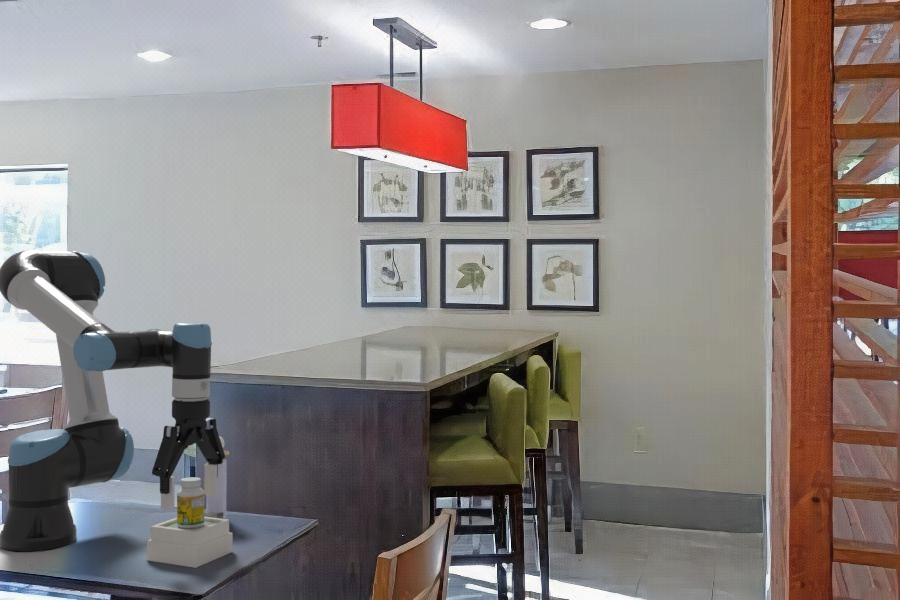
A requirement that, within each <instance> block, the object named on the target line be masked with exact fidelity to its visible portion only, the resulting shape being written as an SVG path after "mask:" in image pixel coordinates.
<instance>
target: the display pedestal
mask: <svg viewBox="0 0 900 600" xmlns="http://www.w3.org/2000/svg"><path fill="white" fill-rule="evenodd" d="M233 533H234V532H230V519H226V518H223V519H220V518H212V517H204V525H203V526H201V527H199V528H192V529H184V528H179V527H178V526H177V517H174V518H171V519H168V520H165V521H162V522H159V523H156V524H154V525H151V526H150V539H147V540H146V561H149V562H153V563H161V564H168V565H175V566H180V567H181V566H182V567H188V568H194V569H196V568H198V567H201V566H203V565H206V564H208V563H210V562H213V561H215V560H217V559H219V558H220V559H221V557H224V556H227V555H229V554H230V553H231V554H232V553H233V540H234V539H233Z"/></svg>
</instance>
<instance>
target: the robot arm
mask: <svg viewBox="0 0 900 600" xmlns="http://www.w3.org/2000/svg"><path fill="white" fill-rule="evenodd" d="M105 286H106V276H105V273H104V269H103V267H102V264H101V263H100V262H99V260H98V259H97V258H95V257H94V256H93V255H91V254H89V253H87V252H78V251H75V250H69V251H60V250H59V251H56V250H54V251H52V250H33V249H32V250H31V249H29V250H23V251H19V252H16V253H15V254H13V255H11V256H9V257H8V258H7V259H6V260H5V261H4V262H3V263H2V265H1V266H0V293H1V296H2V297H3V298H4V299H5V300H6V301H7V302H8V303H9V304H11V305H12V306H13V308H14V307H15V308H16V309H19V310H24V311H25V310H26V311H27V312H28V313H29V314H30V315H32V316H33V317H35V318H36V319H37V320H38V321H40V323H42V324H43V326H46V328H48V329H49V330H50V331H52V333H54V334H55V336H56V337H55V338H56V342H57V350H58V355H59V362H60V367H61V373H62V379H63V385H64V392H65V399H66V405H67V411H68V418H69V421H68V422H67V424H66V425H65V426H64V428H49V429H45V430H43V429H42V430H35V431H31V432H27V433H24V434H21V435H18V436H17V437H15V438H14V439H13V440H12V441H11V442H10V444H9V449H8V459H7V463H8V510H7V514H6V516H5V520H4V524H3V528H2V530H1V531H0V548H1V549H3V550H7V551H14V552H34V551H36V552H37V551H45V550H51V549H52V550H53V549H57V548H61V547H64V546H67V545H70V544H72V543H73V542H76V540H77V534H78V533H77V532H78V531H77V526H76V524H74V523H75V522H74V519H73V516H72V512H71V509H70V506H69V489H70V488H76V487H81V486H87V485H93V484H98V483H107V482H109V481H111V480H116V479H119V478H122V477H123V476H125V474H126V473H127V472H128V471H129V470H130V467H131V465H132V463H133V459H134V455H135V454H134V453H135V445H134V439H133V436H132V434H131V433H130V431H129V430H128V429H126V428H125V427H122V426H120V425H119V423H120V422H119V419H118V417H116V416H115V415H113V414H112V413H111V412H110V407H109V402H108V396H107V395H108V394H107V388H106V382H105V378H104V372H105V371H114V370H123V369H136V368H137V369H138V368H139V369H140V368H151V367H166V368H167V367H168V368H172V372H171V373H172V374H171V377H172V378H171V382H172V383H171V397H172V398H174V399H173V400H172V401H171V417H172V419H174V420H175V423H174V426H173V425H164V427H163V435H162V436H163V437H162V439H161V443H160V446H159V449H158V453H157V455H156V458H155V461H154V464H153V467H152V471H151V474H152V476H155V477H159V492H160V509H161V510H165V511H166V510H167V511H174V510H175V492H176V491H175V489H176V488H175V483H176V481H175V478H176V477H175V476H173V473H174V472H175V469H176V468H177V466H178V464H179V462H180V460H181V458H182V455H183V453H184V451H185V450H186V449H188V448H189V446H193V445H194V444H196V446H197V448H198V449H199V451H200V452H201V454H202V455H203V457H204V458H205V461H206V463H204V464H203V490H204V496H206V495H210V496H216V495H217V476H218V464H222V463H223V459H226V456H225V454H224V450H225V449H224V447H222V444H221V441H220V438H219V436H220V435H219V431H218V429H217V419H216V418H212V417H210V415H211V400H210V399H208V398H209V397H210V396H211V369H212V368H211V366H212V363H211V362H212V345H213V341H212V333H211V332H212V330H211V327H210V325H209V324H208V323H205V322H178V323H177V322H176V323H175V324H174V325H173V328H172V331H170V330H164V329H163V330H162V329H159V328H151V329H143V330H139V331H138V330H133V331H114V330H113V329H112V328H110V327H108V326H107V325H106V324H105V323H103V322H102V321H101V320H99V319H98V318H97V317H96V316H94V311H95V309H96V308H97V307H98V306H99V302H98V301H99V300H100V299H101V298H102V296H103V295H104V293H105V289H104V287H105ZM217 452H218V453H217ZM207 462H208V463H209V464H207Z"/></svg>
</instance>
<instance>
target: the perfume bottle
mask: <svg viewBox="0 0 900 600" xmlns="http://www.w3.org/2000/svg"><path fill="white" fill-rule="evenodd" d="M219 438H220V441H221V444H222V447H223V448H224V447H225V445H226V444H225V440H224V438H223V437H222V436H220V435H219ZM223 450H224V454H225V457H226V456H229V455H230V451H229V450H226V449H223ZM217 453H218V452H217ZM227 463H228V462H227V459H226V458H224V459H223V463H222V464H218V476H217V495H216V496H210V495H205V496H206V504H205V506H206V507H205V509H206V510H205V511H206V512H205V513H209V512H214V513H221V512H223V513H224V515H223V519H226V518H227V467H228V466H227ZM206 464H209V463H208V462H207V461H206Z"/></svg>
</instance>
